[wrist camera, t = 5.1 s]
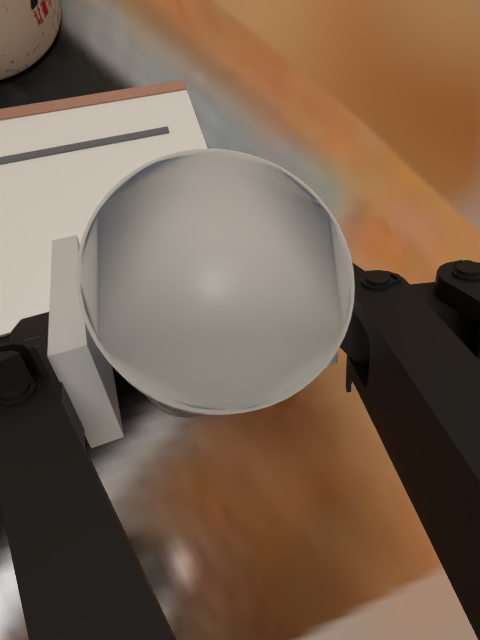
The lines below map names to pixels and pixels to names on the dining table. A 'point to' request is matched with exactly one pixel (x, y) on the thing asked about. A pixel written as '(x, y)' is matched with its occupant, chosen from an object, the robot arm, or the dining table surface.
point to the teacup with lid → (26, 32)
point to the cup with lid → (215, 282)
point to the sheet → (74, 174)
